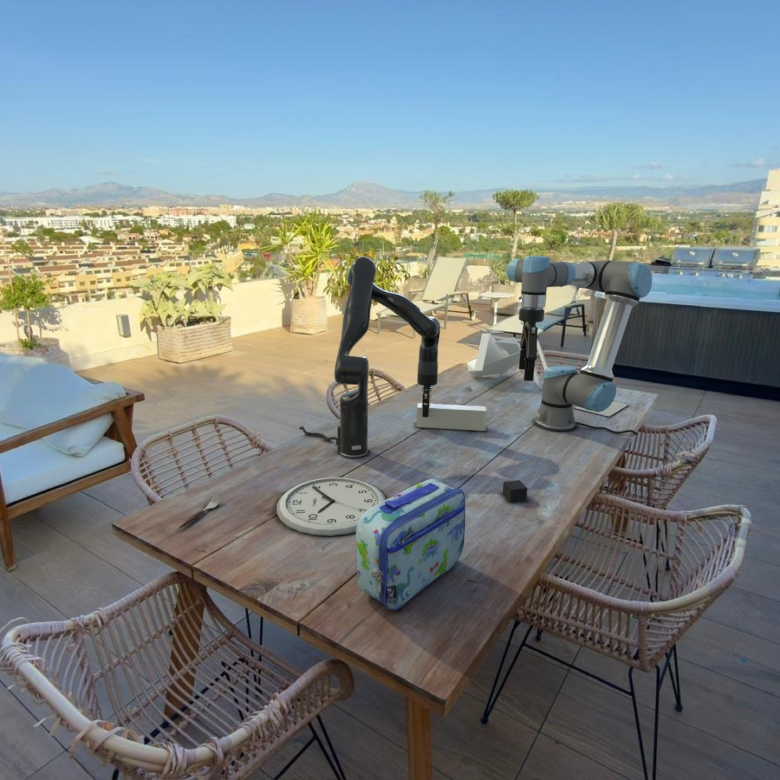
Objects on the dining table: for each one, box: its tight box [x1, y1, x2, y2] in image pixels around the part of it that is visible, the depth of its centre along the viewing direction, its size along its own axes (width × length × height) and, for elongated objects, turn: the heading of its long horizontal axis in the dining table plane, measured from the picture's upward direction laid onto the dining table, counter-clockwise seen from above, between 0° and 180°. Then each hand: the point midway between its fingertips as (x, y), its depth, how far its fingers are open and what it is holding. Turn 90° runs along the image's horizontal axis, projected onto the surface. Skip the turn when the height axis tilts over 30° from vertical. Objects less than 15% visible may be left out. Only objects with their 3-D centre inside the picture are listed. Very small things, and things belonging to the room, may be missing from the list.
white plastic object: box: [466, 306, 549, 390], centre depth 259 cm, size 37×45×31 cm
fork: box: [178, 493, 223, 529], centre depth 137 cm, size 3×16×2 cm, turn 160°
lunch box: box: [355, 478, 466, 611], centre depth 110 cm, size 26×11×21 cm, turn 134°
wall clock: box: [276, 476, 387, 537], centre depth 142 cm, size 30×2×30 cm
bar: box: [416, 402, 488, 432], centre depth 199 cm, size 26×5×8 cm, turn 83°
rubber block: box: [502, 479, 528, 503], centre depth 148 cm, size 5×5×4 cm
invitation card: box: [573, 400, 629, 418], centre depth 226 cm, size 21×1×15 cm
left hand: (425, 414), depth 200 cm, fingers closed on bar, 5 cm apart
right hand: (525, 374), depth 166 cm, fingers open, 13 cm apart
